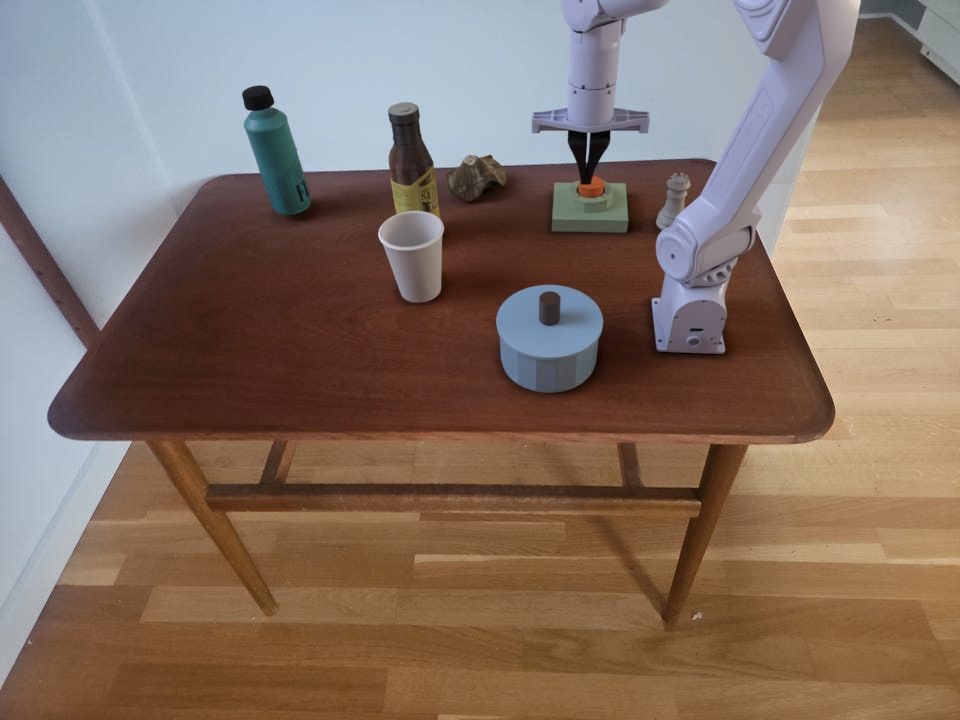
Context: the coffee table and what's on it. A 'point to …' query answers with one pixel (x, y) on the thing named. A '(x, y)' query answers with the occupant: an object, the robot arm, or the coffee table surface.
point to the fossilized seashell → (475, 177)
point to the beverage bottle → (275, 152)
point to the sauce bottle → (411, 163)
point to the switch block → (590, 209)
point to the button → (591, 188)
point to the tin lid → (549, 322)
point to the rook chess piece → (673, 200)
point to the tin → (548, 370)
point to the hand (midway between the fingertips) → (585, 180)
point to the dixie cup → (414, 253)
